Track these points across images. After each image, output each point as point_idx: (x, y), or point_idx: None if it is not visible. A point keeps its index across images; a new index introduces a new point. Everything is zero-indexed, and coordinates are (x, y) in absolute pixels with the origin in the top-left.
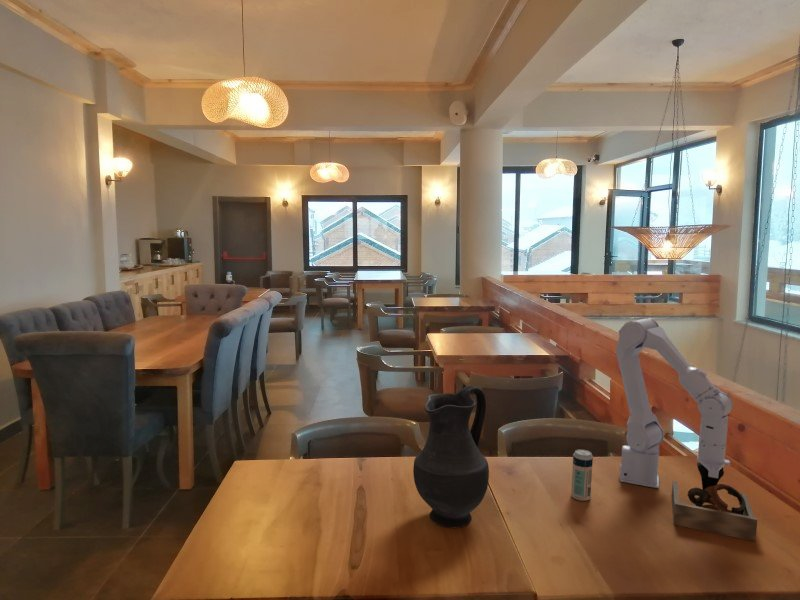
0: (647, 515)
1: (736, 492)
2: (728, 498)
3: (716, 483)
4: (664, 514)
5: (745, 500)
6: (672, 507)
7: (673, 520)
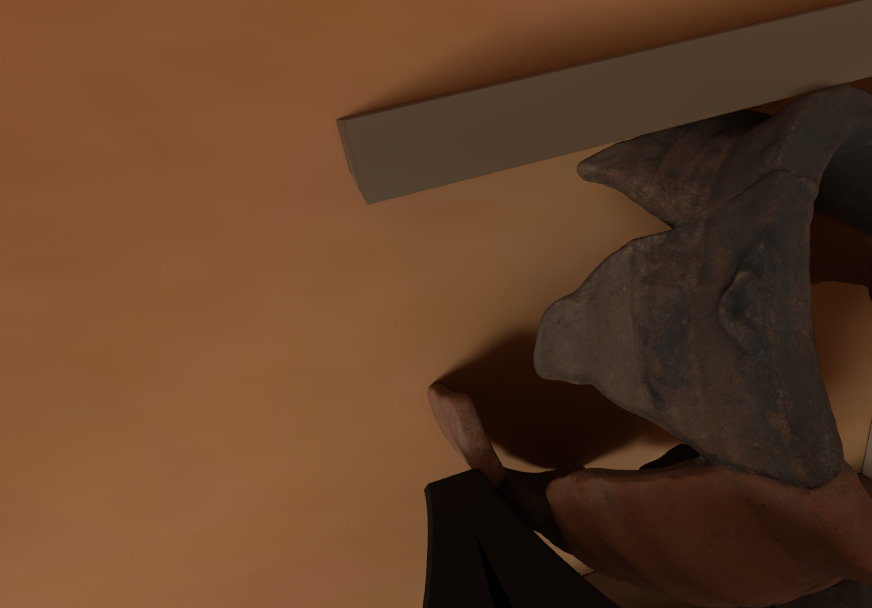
0: None
1: (802, 275)
2: (136, 322)
3: (604, 598)
4: None
5: (652, 103)
6: None
7: None
